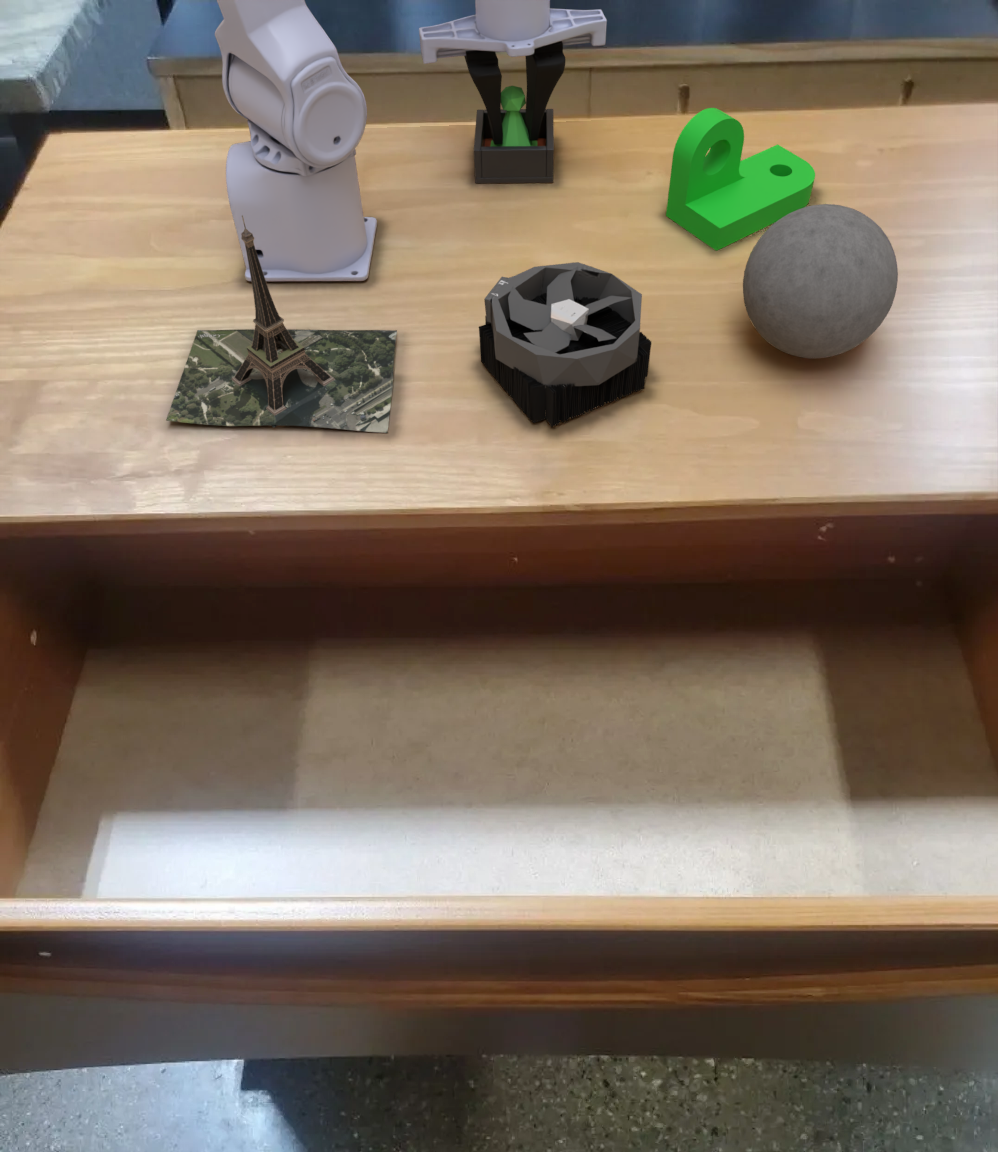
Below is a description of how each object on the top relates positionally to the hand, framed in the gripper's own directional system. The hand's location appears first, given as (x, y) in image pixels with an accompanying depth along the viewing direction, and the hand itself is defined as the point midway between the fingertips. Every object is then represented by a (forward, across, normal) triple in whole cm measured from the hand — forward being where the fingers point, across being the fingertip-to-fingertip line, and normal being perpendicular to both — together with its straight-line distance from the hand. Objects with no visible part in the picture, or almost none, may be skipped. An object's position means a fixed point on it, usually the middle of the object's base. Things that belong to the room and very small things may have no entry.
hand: (514, 136), depth 87 cm
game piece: (+2, 0, 0) cm, 2 cm away
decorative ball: (+2, +16, -28) cm, 32 cm away
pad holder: (+2, 0, 0) cm, 2 cm away
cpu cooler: (+2, -1, -28) cm, 28 cm away
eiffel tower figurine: (+2, -20, -25) cm, 32 cm away
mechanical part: (+2, +17, -10) cm, 20 cm away
